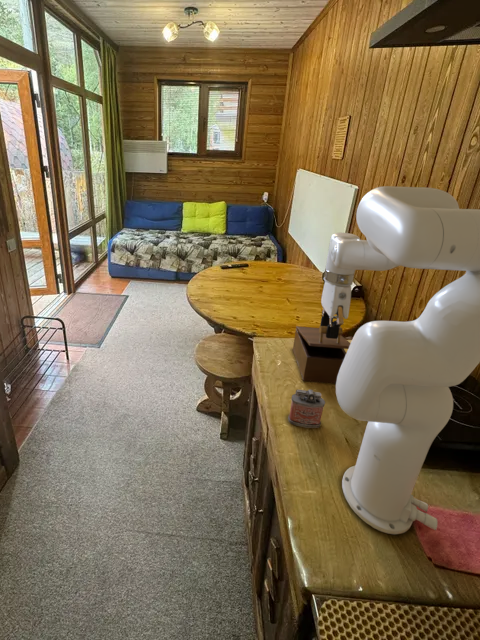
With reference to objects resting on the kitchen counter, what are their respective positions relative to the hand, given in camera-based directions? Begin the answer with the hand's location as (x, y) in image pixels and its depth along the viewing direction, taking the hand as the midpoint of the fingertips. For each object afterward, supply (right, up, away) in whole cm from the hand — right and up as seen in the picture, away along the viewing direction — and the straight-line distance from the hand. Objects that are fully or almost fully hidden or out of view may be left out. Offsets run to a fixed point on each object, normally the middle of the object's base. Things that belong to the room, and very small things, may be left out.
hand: (328, 332), depth 93 cm
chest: (0, -13, +9) cm, 16 cm away
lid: (0, -3, +5) cm, 6 cm away
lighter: (-12, -21, -12) cm, 27 cm away
